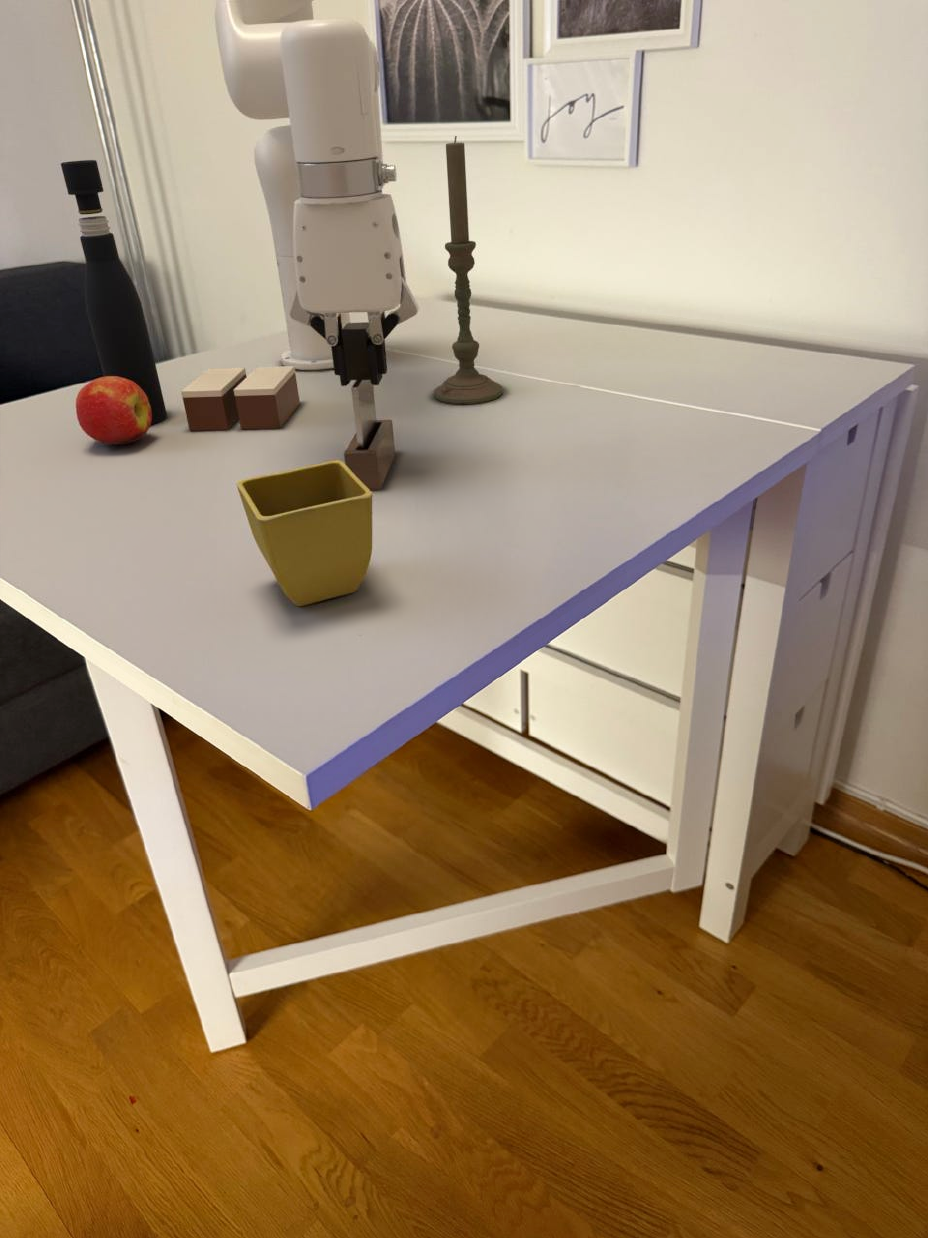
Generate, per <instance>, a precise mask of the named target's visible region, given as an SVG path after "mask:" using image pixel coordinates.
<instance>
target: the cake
mask: <svg viewBox="0 0 928 1238" xmlns="http://www.w3.org/2000/svg"><path fill="white" fill-rule="evenodd" d="M246 377H247V372H246V367H227V368H226V367H225V368H224V367H223V368H222V367H221V368H207V369H206V370H205V371H204V372H203V373H201V374H200V375H199V376H198V377H196V378H195V379H194V380H193V381H191V382H190V383H189V384H188V385H187V386H185V387H184V388H183V389H182V390H181V391H180V393H181V399H182V402H183V406H184V411H185V415H186V420H187V424H188V425H187V426H188V429H189V431H190V432H195V431H196V432H198V431H201V432H202V431H204V432H205V431H229V430H230V429H231V428H232V427H233V426H234V424H236V422H237V421H239V415H238V410H237V405H236V399H235V394H234V389H235V388H236V387H237V386H238V385H239V384H240V383H241V382H242V381H243V380H244V379H245V378H246Z"/></svg>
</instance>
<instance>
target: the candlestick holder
mask: <svg viewBox="0 0 928 1238" xmlns="http://www.w3.org/2000/svg"><path fill="white" fill-rule="evenodd" d="M465 148H466V147H465V143H464V142H457V135H455V136H454V141H453V142H448V143H446V144H445V157H446V174H447V175H446V176H447V191H448V210H449V225H450V226H449V228H450V241H449V242H446V243H445V244H444V249H445V250H446V252H447V253H448V254H449V258H448V260H447V266H448V268H449V269H450V270H451V271H452V272H453V273H455V275H456V278H455V281H454V284H455V286H454V288H455V289H454V297H455V299H456V301H457V303H456V306H457V315H458V316H457V320H458V325H459V332H458V337H457V340H456V341H454V342H453V343H452V345H451V348H452V349H451V350H452V351H453V352H452V353H453V355H454V357H455V359H456V360H457V361H458V368H459V369H458V370H457V371H456V372H455V375H452V376H450V377H448V378H446V379H445V381H443V382H442V383H441V384H440V385H439V386H437V387H435V388H434V390H433V397H434V398H435V400H436V401H439V402H441V403H445V404H448V405H449V404H450V405H474V404H475V405H476V404H483V403H487V402H491V401H493V400H495V399H497V398H499V397H501V396H502V394H503V391H504V389H503V386H502V385H501V384H500V383H499V382H496V381H494V380H493V379H491V377H489V376H487V375H485V374H482V373H480V372H479V371H478V370H477V369H476V367H475V365H476V364H475V359H476V358H477V357H478V355H479V349H480V343H479V341H477V340H475V339H474V337H473V335H472V331H471V319H472V317H471V315H470V314H471V309H470V306H471V304H470V299H471V298H472V289H471V288H470V287H471V285H470V282H471V281H470V279H469V276H468V275H469V272H470V271H471V270H473V268H474V266H475V263H476V262H475V258H474V256H473V255H472V254H473V251H474V250H475V249H476V246H477V243H476V241H474V240H470V233H469V231H470V230H469V214H468V213H469V212H468V211H469V210H468V209H469V208H468V193H467V191H468V190H467V174H466V173H467V172H466V171H467V170H466V152H465V151H466V150H465Z"/></svg>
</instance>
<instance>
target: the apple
mask: <svg viewBox="0 0 928 1238" xmlns="http://www.w3.org/2000/svg"><path fill="white" fill-rule="evenodd" d="M75 413H76V419H77V421H78V423H79V426H80V428H81V429H82V431H83V432H84V433H85V434H86V435H87V436H89V438H91V439H93V440H95V441H97V442H99V443H102V444H108V445H113V446H115V445H127V444H131V443H134V442H136V441H139V440H140V439H142V438H143V437H144V436H145V435H146V434H147V432H148V431H149V429H150V428H151V426H152V425H151V421H152V411H151V406H150V404H149V402H148V397H147V396H146V394H145V392H144V391H143V390H142V389H141V388H140V387H139V386H138V385H137V384H136V383H134V382H133V381H131V380H128V379H125V378H122V377H117V376H106V377H104V376H101V377H98V378H96V379H94V380H92V381H90V382H88V383H87V384H85V385H84V386H82V388H81V389H80V390H79V391H78V393H77V395H76V399H75Z"/></svg>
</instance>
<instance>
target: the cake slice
mask: <svg viewBox="0 0 928 1238" xmlns="http://www.w3.org/2000/svg"><path fill="white" fill-rule="evenodd" d="M234 394H235V399H236V405H237V410H238V415H239V419H238V421H239V425H240V430H242V431H243V430H271V429H272V430H273V429H276V430H277V429H280V430H281V428H282V427H283V426H284V425H285V423H286V422H287V421H288V420H289V418H290V417H291V416H292V415H293V413H294V412H295V410H297V408H298V407H299V406H300V405H301V401H300V394H299V388H298V381H297V375H296V369H295V367H294V366H284V365H282V366H256V368H254V369H253V370H252V372H250V373H249V374H248V375H246V378H245V379H244V380H243V381H242V382H241V383H240V384H239V385H238V386H237V387H236V388H235V389H234Z"/></svg>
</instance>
